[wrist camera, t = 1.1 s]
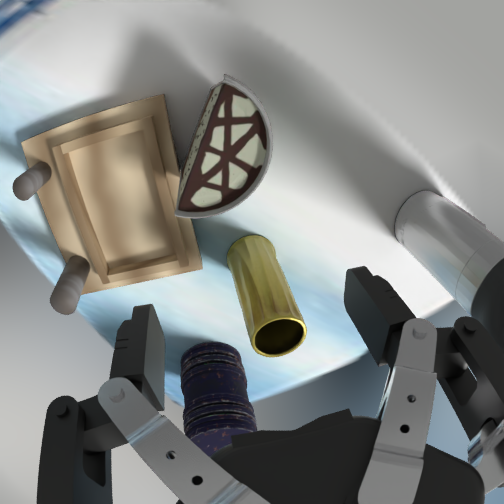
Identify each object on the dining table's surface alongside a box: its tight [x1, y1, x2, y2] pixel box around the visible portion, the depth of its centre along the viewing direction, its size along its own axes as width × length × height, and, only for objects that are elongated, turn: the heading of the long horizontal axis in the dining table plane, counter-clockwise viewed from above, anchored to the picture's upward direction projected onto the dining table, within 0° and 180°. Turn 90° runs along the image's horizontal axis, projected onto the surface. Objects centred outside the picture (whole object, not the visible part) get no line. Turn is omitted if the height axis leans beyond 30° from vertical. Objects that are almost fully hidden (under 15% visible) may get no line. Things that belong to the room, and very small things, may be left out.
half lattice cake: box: [174, 74, 273, 218], centre depth 28 cm, size 12×6×10 cm, turn 158°
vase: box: [227, 235, 307, 357], centre depth 35 cm, size 6×6×14 cm
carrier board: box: [13, 94, 203, 315], centre depth 30 cm, size 16×20×9 cm
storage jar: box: [181, 342, 257, 457], centre depth 43 cm, size 10×10×15 cm
